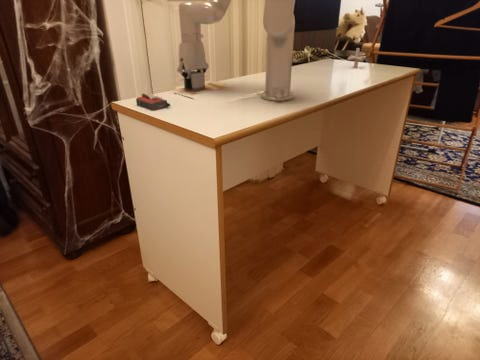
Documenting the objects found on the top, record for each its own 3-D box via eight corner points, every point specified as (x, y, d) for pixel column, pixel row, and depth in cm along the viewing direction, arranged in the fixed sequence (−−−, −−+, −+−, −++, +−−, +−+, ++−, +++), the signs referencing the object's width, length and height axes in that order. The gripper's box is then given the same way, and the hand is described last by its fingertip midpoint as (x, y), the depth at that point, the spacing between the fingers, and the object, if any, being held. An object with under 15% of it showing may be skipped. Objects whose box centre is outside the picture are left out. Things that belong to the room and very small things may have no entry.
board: (215, 85, 155) (215, 81, 154) (234, 89, 147) (234, 85, 147) (174, 93, 142) (173, 89, 141) (192, 98, 134) (191, 94, 133)
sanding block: (194, 87, 145) (193, 70, 142) (205, 89, 140) (204, 73, 137) (184, 89, 141) (183, 72, 138) (195, 91, 137) (193, 74, 134)
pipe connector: (342, 67, 192) (344, 47, 188) (358, 65, 195) (360, 46, 190) (352, 70, 184) (355, 49, 179) (369, 68, 186) (372, 49, 182)
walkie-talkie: (175, 107, 125) (146, 97, 137) (174, 95, 123) (145, 86, 135) (154, 113, 119) (125, 102, 132) (152, 100, 117) (124, 90, 130)
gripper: (203, 36, 140) (205, 82, 148) (166, 39, 129) (171, 89, 138) (215, 37, 135) (217, 85, 143) (178, 41, 124) (182, 92, 133)
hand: (194, 86), depth 140 cm, fingers closed on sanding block, 5 cm apart
